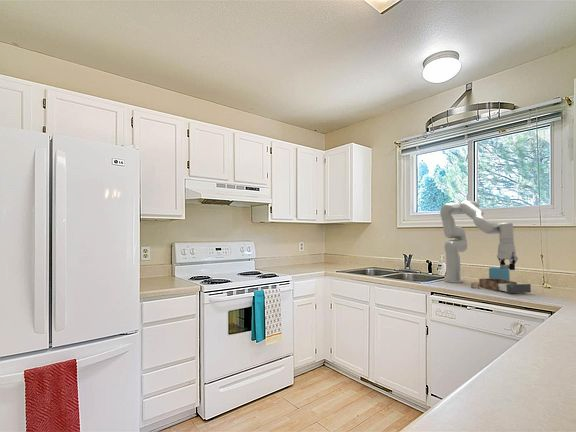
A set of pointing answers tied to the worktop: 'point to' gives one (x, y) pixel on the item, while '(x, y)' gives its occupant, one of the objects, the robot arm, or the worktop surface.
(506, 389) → the worktop surface
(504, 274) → the data package
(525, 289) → the tray
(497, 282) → the dock
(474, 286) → the stand
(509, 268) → the disc
